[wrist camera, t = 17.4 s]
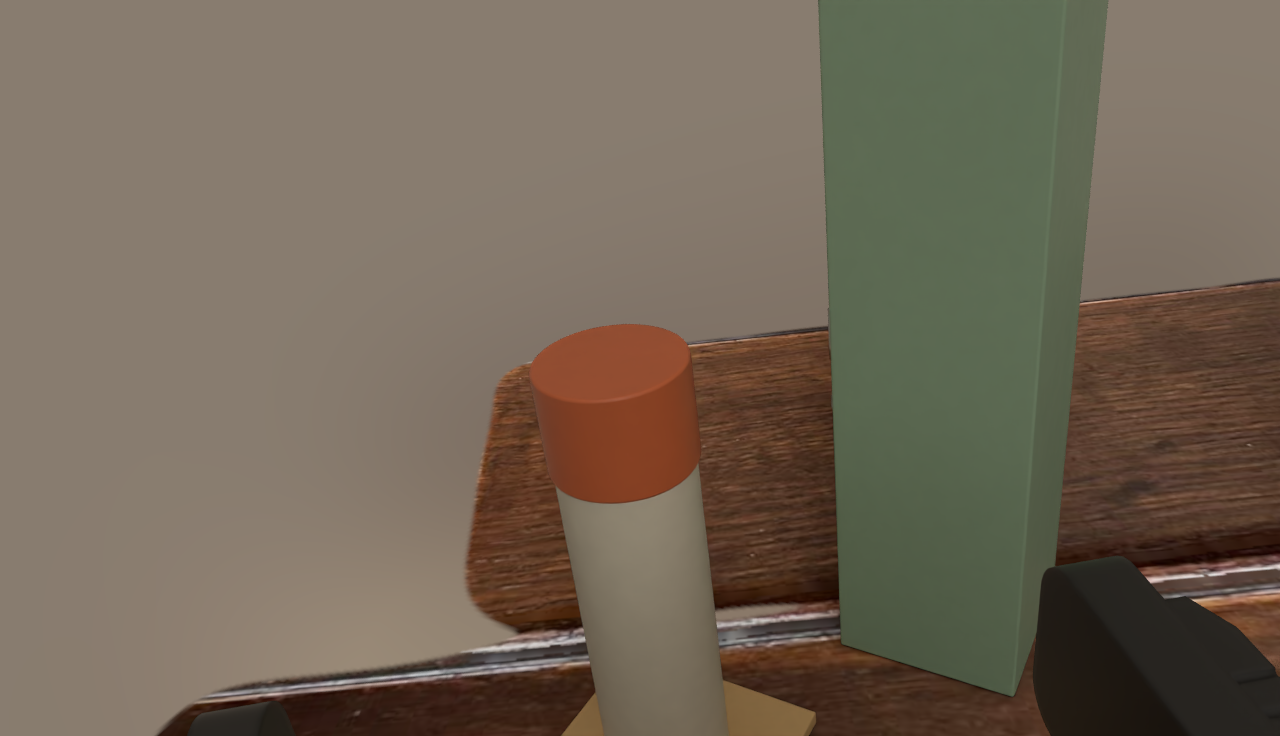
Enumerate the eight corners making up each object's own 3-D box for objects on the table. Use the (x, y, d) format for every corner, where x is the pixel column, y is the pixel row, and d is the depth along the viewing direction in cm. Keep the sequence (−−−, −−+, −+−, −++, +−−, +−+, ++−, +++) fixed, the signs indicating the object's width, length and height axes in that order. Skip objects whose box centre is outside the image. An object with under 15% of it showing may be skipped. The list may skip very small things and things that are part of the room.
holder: (1044, 737, 26) (1232, -1167, 11) (795, 657, 29) (696, -874, 15) (1094, 574, 31) (1267, -888, 16) (876, 522, 35) (861, -719, 20)
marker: (696, 834, 24) (636, 413, 19) (582, 783, 26) (495, 384, 20) (756, 732, 27) (718, 334, 21) (648, 692, 28) (586, 314, 23)
